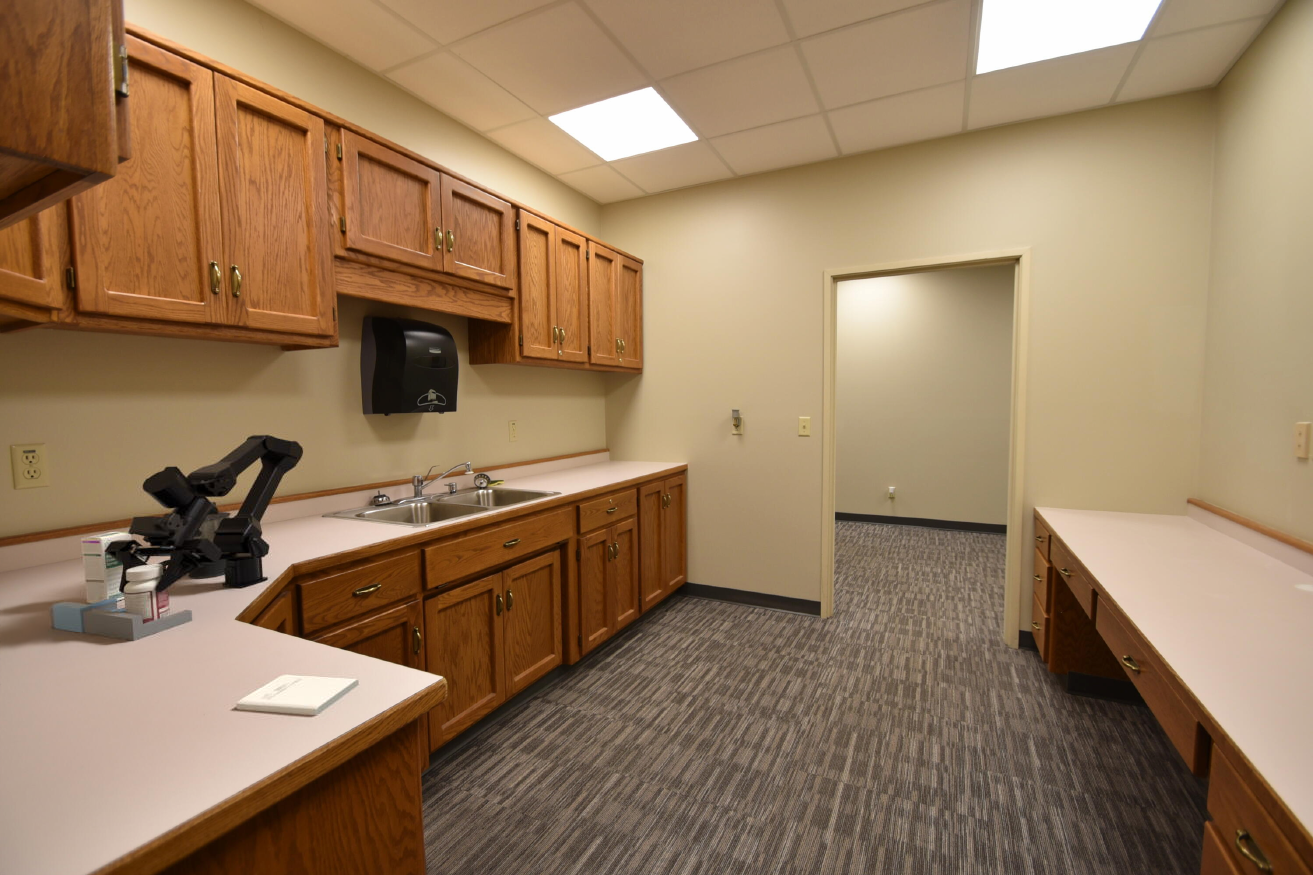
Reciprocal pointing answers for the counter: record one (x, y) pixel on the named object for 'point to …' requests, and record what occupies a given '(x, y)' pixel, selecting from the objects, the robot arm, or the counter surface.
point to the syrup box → (102, 567)
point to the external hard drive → (298, 694)
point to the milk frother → (208, 532)
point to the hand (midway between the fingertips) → (139, 591)
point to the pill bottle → (146, 593)
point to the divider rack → (110, 620)
